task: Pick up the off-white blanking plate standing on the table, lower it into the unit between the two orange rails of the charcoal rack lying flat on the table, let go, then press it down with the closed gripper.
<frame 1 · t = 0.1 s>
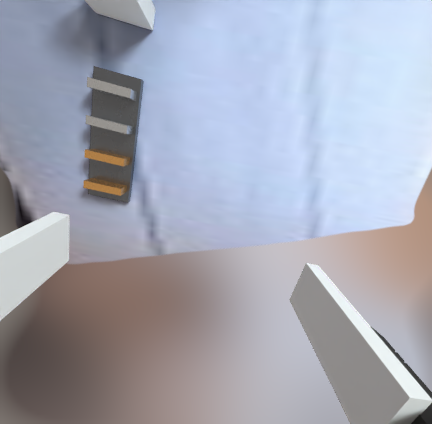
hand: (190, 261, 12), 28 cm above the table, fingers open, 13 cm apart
panel: (125, 11, 30), on the table
rack: (115, 141, 35), on the table
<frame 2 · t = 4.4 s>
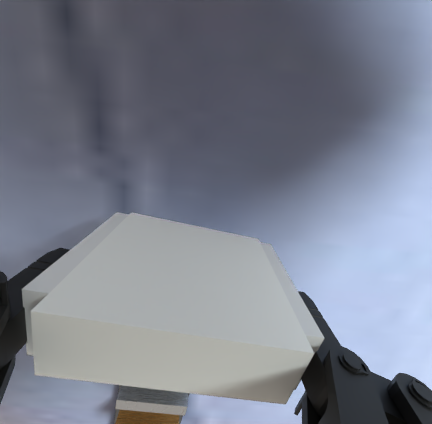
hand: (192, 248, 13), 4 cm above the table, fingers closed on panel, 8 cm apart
panel: (192, 243, 13), point 3 cm above the table, touching gripper
rack: (156, 382, 22), on the table
when the fingers open (2 cm above the table, at t = 9.3 s): panel stays where it is, resting on rack.
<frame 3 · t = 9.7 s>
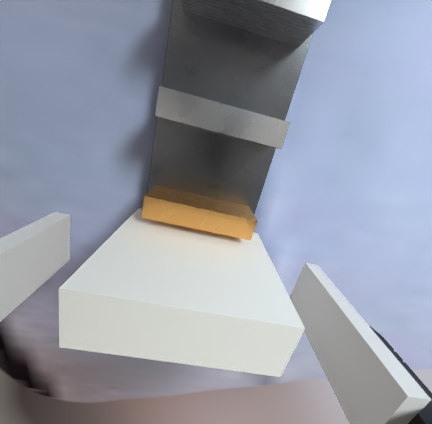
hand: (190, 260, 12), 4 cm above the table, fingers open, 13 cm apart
panel: (195, 237, 14), point 1 cm above the table, touching rack
rack: (210, 164, 13), on the table
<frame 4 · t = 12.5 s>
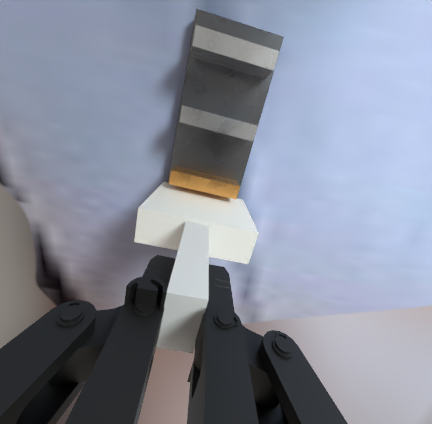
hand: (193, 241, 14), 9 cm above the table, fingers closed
panel: (201, 202, 21), point 1 cm above the table, touching gripper, rack
rack: (211, 152, 20), on the table
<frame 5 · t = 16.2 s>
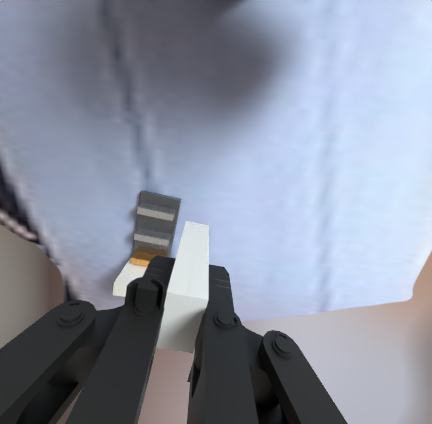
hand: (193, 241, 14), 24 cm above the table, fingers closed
panel: (150, 266, 41), point 1 cm above the table, touching rack
rack: (154, 242, 41), on the table
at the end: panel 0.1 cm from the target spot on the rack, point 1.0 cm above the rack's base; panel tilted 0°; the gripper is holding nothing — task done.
